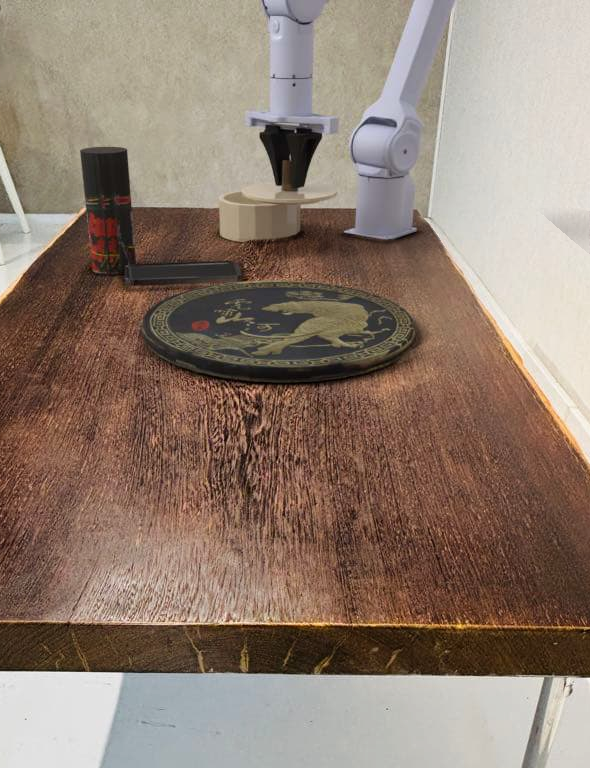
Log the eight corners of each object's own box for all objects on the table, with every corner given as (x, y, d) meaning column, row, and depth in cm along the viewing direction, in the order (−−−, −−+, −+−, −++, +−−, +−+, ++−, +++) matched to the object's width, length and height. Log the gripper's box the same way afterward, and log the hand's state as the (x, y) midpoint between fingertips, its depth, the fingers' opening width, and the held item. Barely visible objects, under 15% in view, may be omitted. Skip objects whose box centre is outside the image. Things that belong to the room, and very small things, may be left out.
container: (254, 221, 143) (253, 186, 140) (315, 232, 136) (316, 196, 133) (203, 234, 135) (201, 198, 132) (265, 247, 128) (265, 209, 125)
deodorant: (87, 266, 119) (74, 148, 111) (128, 261, 121) (119, 145, 113) (99, 276, 114) (87, 154, 106) (142, 271, 116) (133, 151, 108)
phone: (124, 264, 115) (236, 260, 116) (125, 273, 115) (236, 268, 117) (124, 280, 108) (242, 275, 110) (125, 289, 109) (242, 284, 110)
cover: (280, 185, 130) (281, 149, 128) (355, 196, 123) (357, 158, 121) (222, 199, 121) (221, 160, 119) (299, 212, 114) (300, 171, 112)
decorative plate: (100, 354, 84) (183, 271, 109) (101, 372, 85) (183, 287, 110) (409, 379, 79) (422, 287, 104) (407, 398, 80) (420, 302, 105)
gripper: (230, 76, 115) (232, 184, 123) (318, 82, 108) (315, 196, 115) (263, 73, 120) (263, 177, 127) (349, 78, 112) (344, 188, 120)
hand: (289, 186), depth 122 cm, fingers closed on cover, 2 cm apart
